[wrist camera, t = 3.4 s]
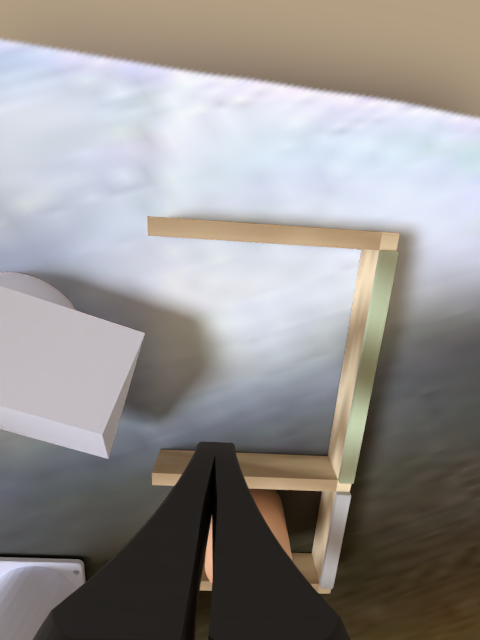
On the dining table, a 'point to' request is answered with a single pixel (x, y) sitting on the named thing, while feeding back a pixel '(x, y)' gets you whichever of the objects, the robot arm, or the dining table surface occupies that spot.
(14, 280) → the wedge on round base
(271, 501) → the tan smooth rounded piece
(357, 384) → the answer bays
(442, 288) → the dining table surface
